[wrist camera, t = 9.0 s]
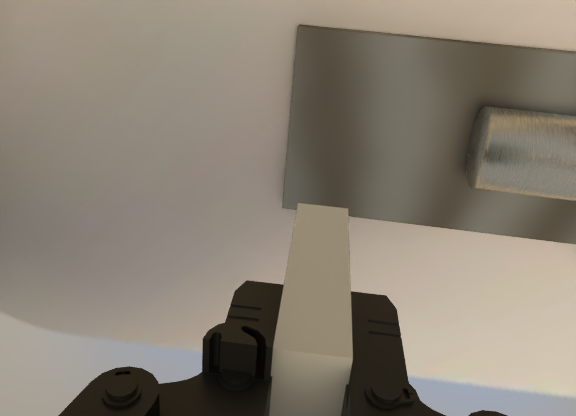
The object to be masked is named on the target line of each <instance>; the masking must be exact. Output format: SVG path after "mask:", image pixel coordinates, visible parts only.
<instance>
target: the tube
mask: <svg viewBox="0 0 576 416" xmlns="http://www.w3.org/2000/svg"><path fill="white" fill-rule="evenodd" d="M466 175H467V182H468V185H469V187H470V188H472V189H480V190H489V191H497V192H505V193H514V194H522V195H530V196H538V197H547V198H555V199H563V200H572V201H576V116H570V115H561V114H551V113H542V112H533V111H524V110H515V109H506V108H496V107H487V106H485V107H483V108H482V109H481V110H480V112H479V113H478V115H477V117H476V119H475V122H474V125H473V128H472V131H471V135H470V140H469V145H468V151H467V161H466Z"/></svg>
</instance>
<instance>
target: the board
mask: <svg viewBox="0 0 576 416" xmlns="http://www.w3.org/2000/svg"><path fill="white" fill-rule="evenodd" d="M485 106H487V107H496V108H506V109H515V110H524V111H533V112H542V113H551V114H561V115H570V116H576V52H572V51H562V50H551V49H541V48H531V47H521V46H511V45H501V44H491V43H481V42H471V41H461V40H450V39H440V38H430V37H420V36H410V35H400V34H390V33H380V32H370V31H359V30H349V29H339V28H329V27H319V26H309V25H299V26H298V30H297V42H296V54H295V66H294V77H293V89H292V101H291V112H290V124H289V136H288V147H287V159H286V171H285V183H284V194H283V206H282V208H287V209H295V210H297V207H298V203H303V204H312V205H321V206H330V207H339V208H348V216H352V217H360V218H368V219H376V220H384V221H392V222H400V223H408V224H416V225H424V226H432V227H440V228H449V229H457V230H465V231H473V232H481V233H489V234H497V235H505V236H513V237H521V238H529V239H537V240H545V241H554V242H562V243H570V244H576V201H572V200H563V199H555V198H547V197H538V196H530V195H522V194H514V193H505V192H497V191H489V190H480V189H472V188H470V187H469V185H468V182H467V175H466V161H467V151H468V145H469V140H470V135H471V131H472V128H473V125H474V122H475V119H476V117H477V115H478V113H479V112H480V110H481V109H482V108H483V107H485Z"/></svg>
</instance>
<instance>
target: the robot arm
mask: <svg viewBox="0 0 576 416" xmlns="http://www.w3.org/2000/svg"><path fill="white" fill-rule="evenodd" d="M59 416H445V415H443V414H441V413H439V412H436V411H434V410H432V409H431V408H429V407H428V406H426V405H425V404H424V403H422V402H421V401H420V399H419V397H418V395H417V392H416V390H415V389H414V388H413V387H412V386H411V385H410V384H409V382H408V377H407V370H406V364H405V358H404V352H403V346H402V339H401V333H400V327H399V321H398V315H397V309H396V308H395V306H394V305H393V304H392V302H391V301H390V300H389V299H388V297H387V296H385V295H376V294H368V293H360V292H351V282H350V251H349V219H348V208H339V207H330V206H321V205H312V204H303V203H298V207H297V212H296V218H295V224H294V229H293V235H292V241H291V247H290V252H289V258H288V264H287V270H286V275H285V281H284V285H281V284H272V283H264V282H255V281H246V282H245V283H243V284H242V285H241V286H240V287H239V288H238V289H237V290H236V291H235V293H234V296H233V299H232V302H231V307H230V308H229V312H228V315H227V318H226V321H225V323H222V324H218V325H217V326H215V327H213V328H212V329H210V330H209V331H208V332H207V334H206V335H205V336H204V338H203V359H202V373H200V374H199V375H197V376H195V377H192V378H190V379H188V380H183V381H178V382H171V383H163V384H158V381H157V380H156V378H155V377H154V376H153V374H151V373H149V372H148V371H146V370H144V369H142V368H135V367H121V368H115V369H112V370H110V371H107V372H104V373H102V374H101V375H99V376H98V377H97V378H95V379H94V380H93V381H91V382H90V383H89V385H88V386H87V387H86V388H85V389H84V390H83V391H82V392H81V393H80V394H79V395H78V396H77V397H76V398H75V399H74V400H73V401H72V402H71V403H70V404H69V405H68V406H67V407H66V408H65V410H64V411H63V412H62V413H61V414H60V415H59ZM469 416H507V415H504V414H501V413H499V412H494V411H484V410H482V411H478V412H474V413H471V414H470V415H469Z"/></svg>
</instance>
